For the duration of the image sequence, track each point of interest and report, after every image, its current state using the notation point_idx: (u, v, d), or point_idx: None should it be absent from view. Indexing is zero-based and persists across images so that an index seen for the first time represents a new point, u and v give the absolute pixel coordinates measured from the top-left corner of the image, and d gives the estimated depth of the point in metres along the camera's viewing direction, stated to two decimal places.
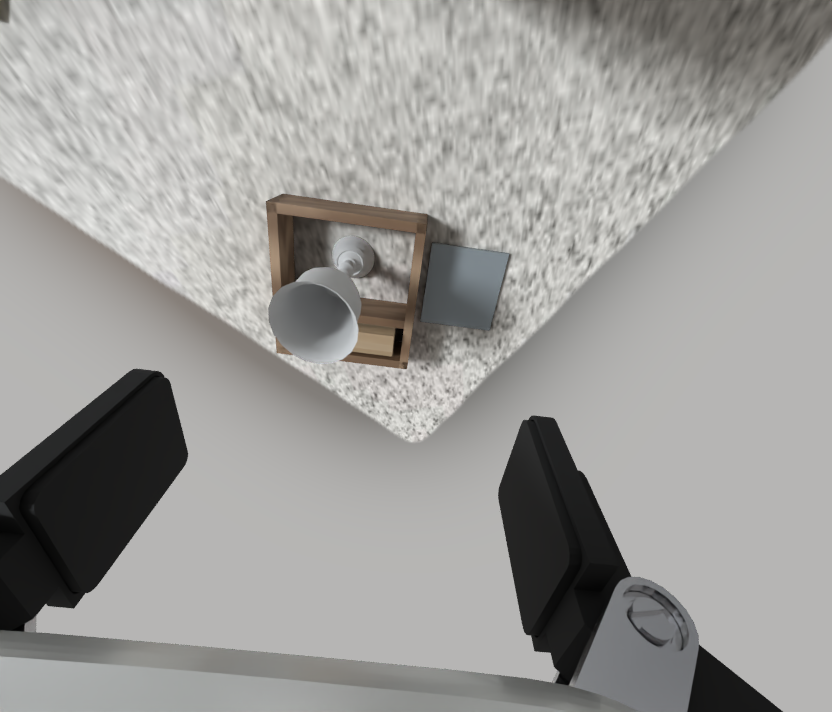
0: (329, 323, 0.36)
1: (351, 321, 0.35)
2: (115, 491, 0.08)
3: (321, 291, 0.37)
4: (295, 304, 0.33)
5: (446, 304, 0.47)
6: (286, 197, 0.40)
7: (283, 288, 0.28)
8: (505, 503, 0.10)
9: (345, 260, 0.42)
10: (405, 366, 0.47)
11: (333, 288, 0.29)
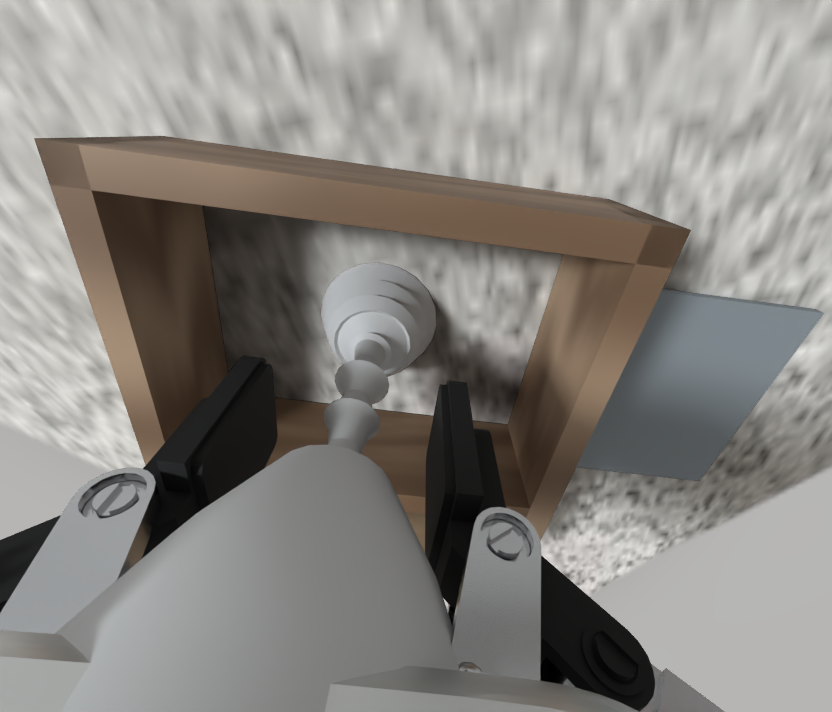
0: None
1: None
2: (240, 462, 0.09)
3: None
4: None
5: (609, 429, 0.19)
6: (160, 140, 0.12)
7: None
8: (427, 463, 0.11)
9: (359, 341, 0.14)
10: None
11: None
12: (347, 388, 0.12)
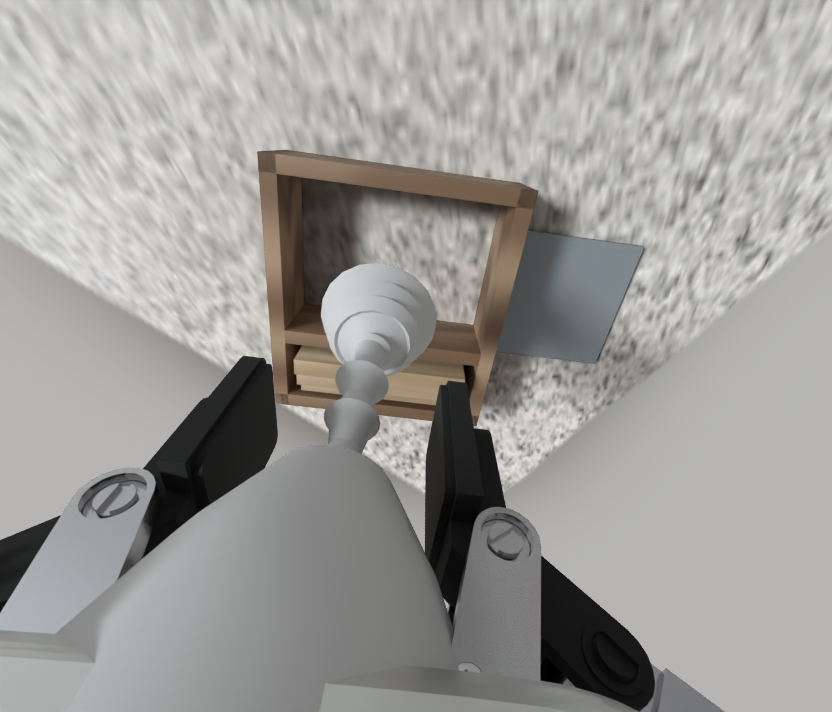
0: None
1: None
2: (240, 462, 0.09)
3: None
4: None
5: (534, 325, 0.31)
6: (292, 152, 0.24)
7: None
8: (427, 463, 0.11)
9: (359, 341, 0.14)
10: (474, 422, 0.30)
11: None
12: (347, 388, 0.12)
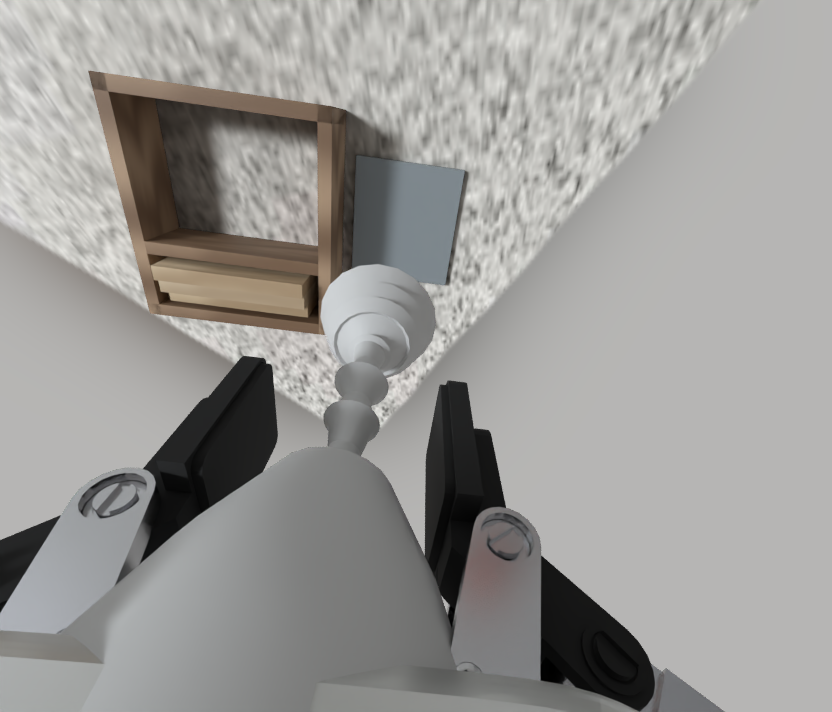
0: None
1: None
2: (240, 462, 0.09)
3: None
4: None
5: (384, 247, 0.35)
6: None
7: None
8: (427, 463, 0.11)
9: (359, 343, 0.14)
10: None
11: None
12: (347, 390, 0.12)
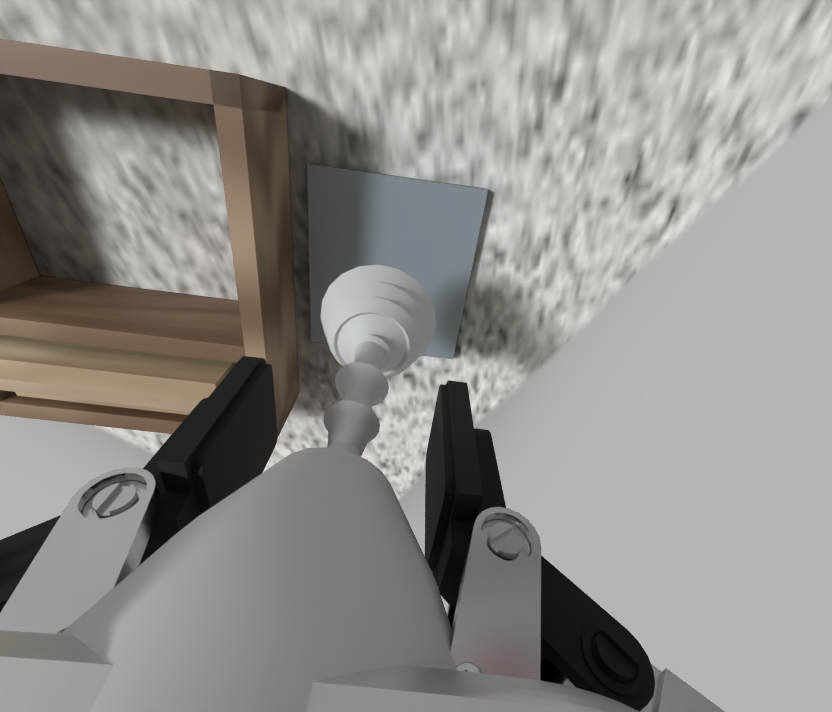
0: None
1: None
2: (240, 462, 0.09)
3: None
4: None
5: None
6: None
7: None
8: (427, 463, 0.11)
9: (359, 343, 0.14)
10: None
11: None
12: (347, 390, 0.12)
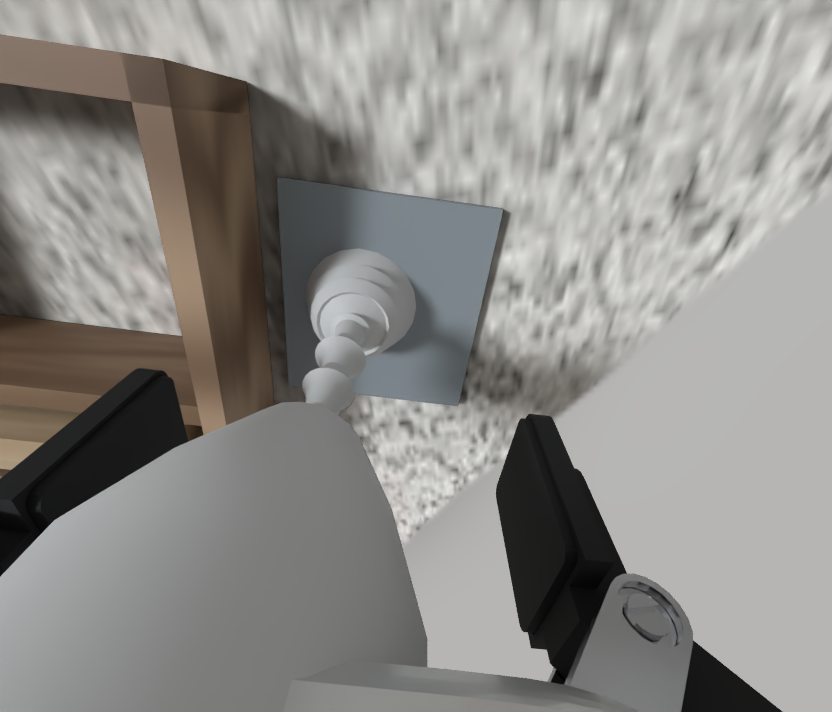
0: None
1: None
2: None
3: None
4: None
5: None
6: None
7: None
8: (502, 501, 0.10)
9: (340, 321, 0.14)
10: None
11: None
12: (325, 361, 0.12)
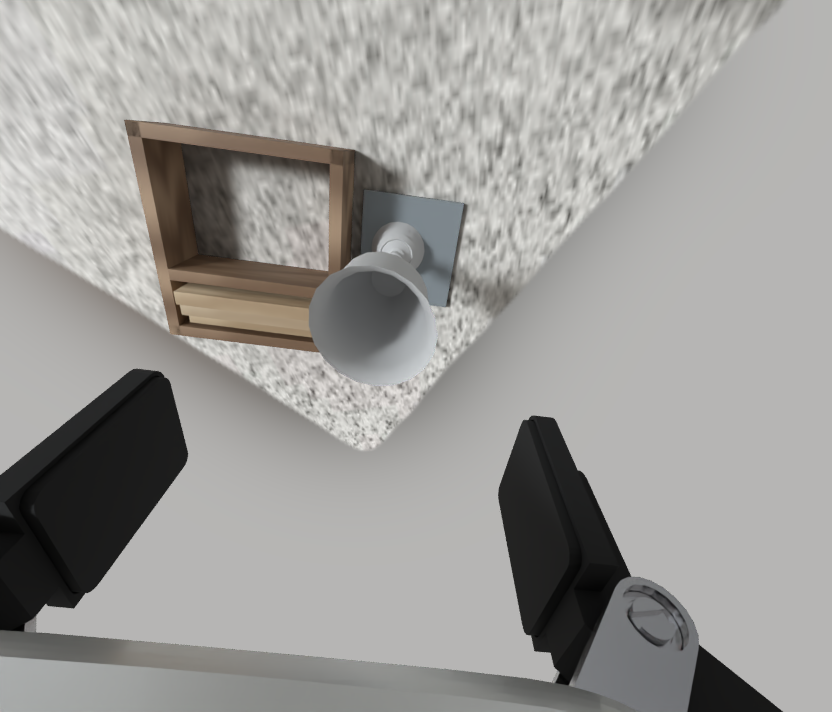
0: (381, 330, 0.27)
1: (412, 327, 0.26)
2: (115, 491, 0.08)
3: (368, 288, 0.28)
4: (338, 303, 0.24)
5: None
6: (164, 123, 0.30)
7: (332, 277, 0.19)
8: (505, 503, 0.10)
9: (391, 251, 0.33)
10: None
11: None
12: None
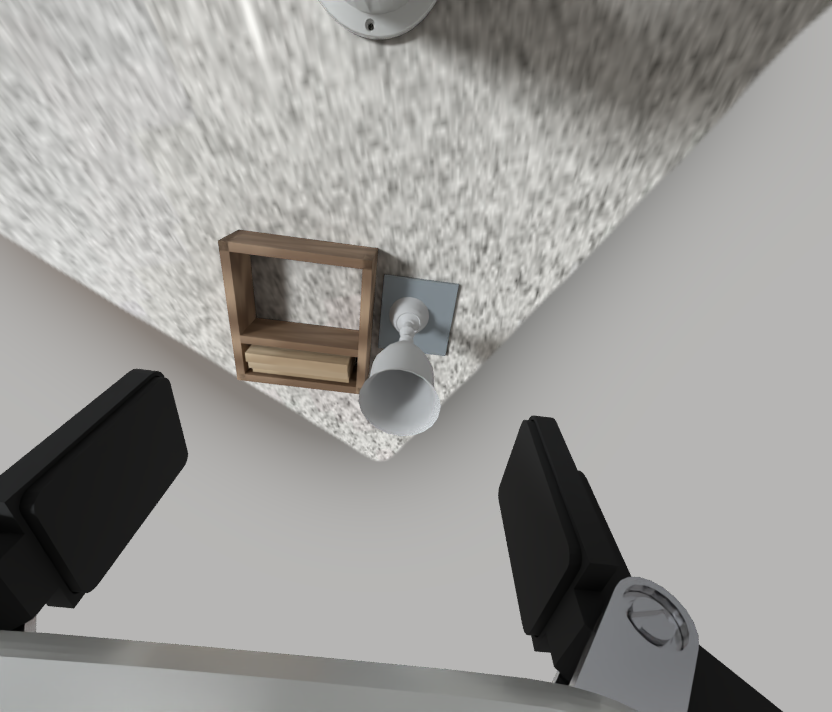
0: (400, 390, 0.38)
1: (422, 389, 0.38)
2: (115, 491, 0.08)
3: None
4: (373, 377, 0.36)
5: None
6: (240, 234, 0.42)
7: (374, 374, 0.31)
8: (505, 503, 0.10)
9: (405, 322, 0.45)
10: None
11: (417, 370, 0.32)
12: (404, 333, 0.43)
